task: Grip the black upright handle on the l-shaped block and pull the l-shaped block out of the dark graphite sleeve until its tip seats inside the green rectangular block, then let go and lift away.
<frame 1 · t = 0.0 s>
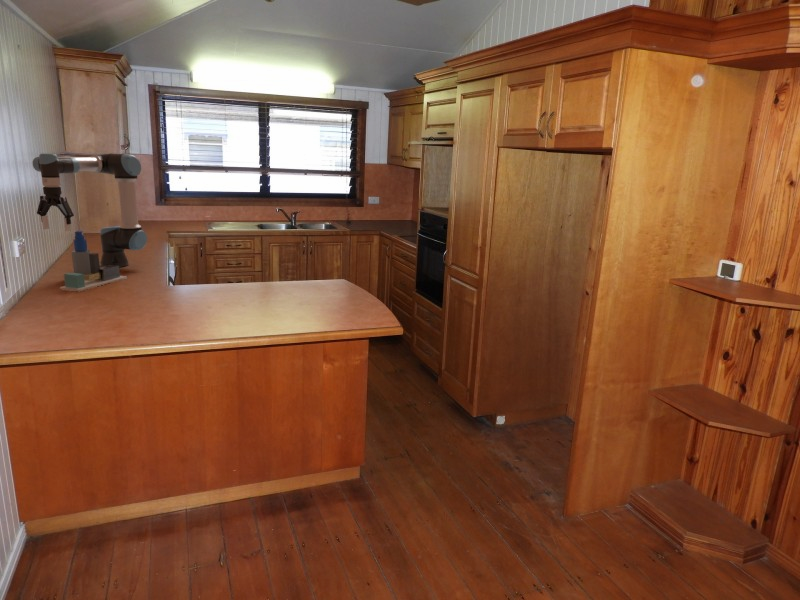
hand: (57, 230, 279), 28 cm above the countertop, tool pointing down, fingers open, 13 cm apart
l-shaped block: (99, 264, 292), point 9 cm above the countertop, slide at 0.0 cm
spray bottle: (84, 277, 303), on the countertop
base board: (95, 283, 290), on the countertop
sleeve: (107, 280, 298), resting on base board
green rectangular block: (75, 289, 279), resting on base board
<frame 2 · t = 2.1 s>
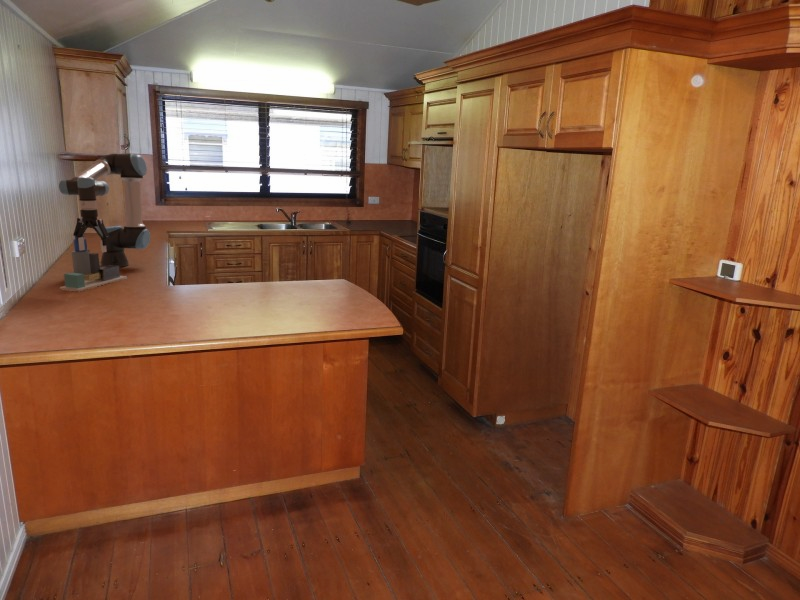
hand: (93, 251, 287), 17 cm above the countertop, tool pointing down, fingers open, 13 cm apart
nothing on the countertop moved.
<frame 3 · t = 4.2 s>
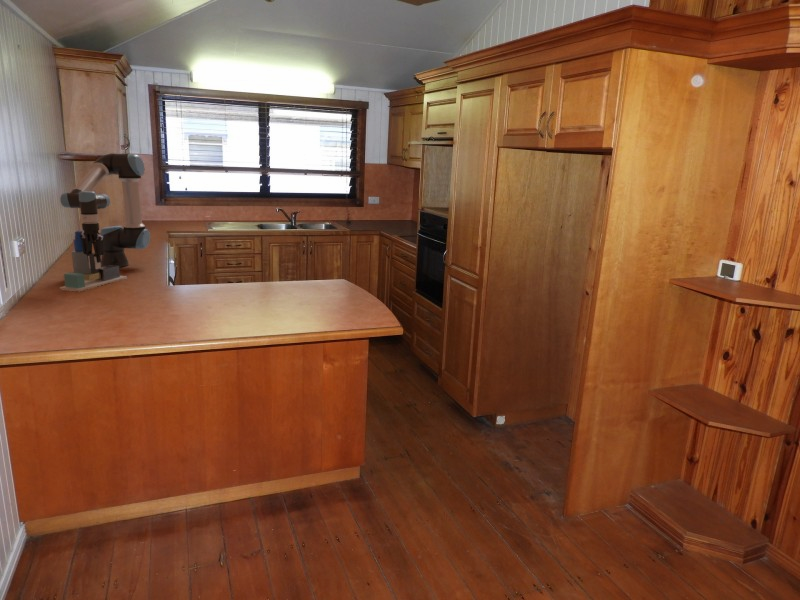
hand: (95, 268, 289), 8 cm above the countertop, tool pointing down, fingers closed on l-shaped block, 3 cm apart
l-shaped block: (99, 264, 292), point 9 cm above the countertop, slide at 0.0 cm, touching gripper
everything else where it was.
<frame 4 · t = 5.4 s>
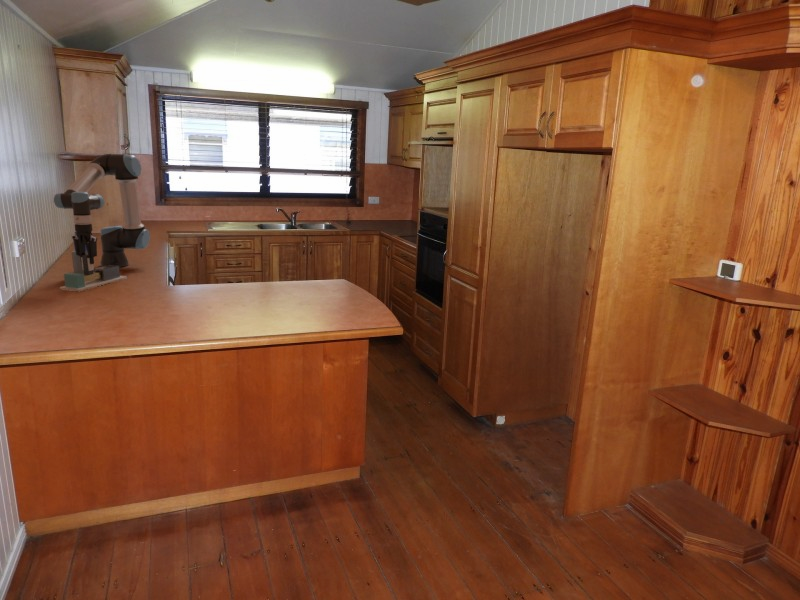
hand: (88, 269, 285), 8 cm above the countertop, tool pointing down, fingers closed on l-shaped block, 3 cm apart
l-shaped block: (93, 266, 288), point 9 cm above the countertop, slide at 4.4 cm, touching gripper
everything else where it was.
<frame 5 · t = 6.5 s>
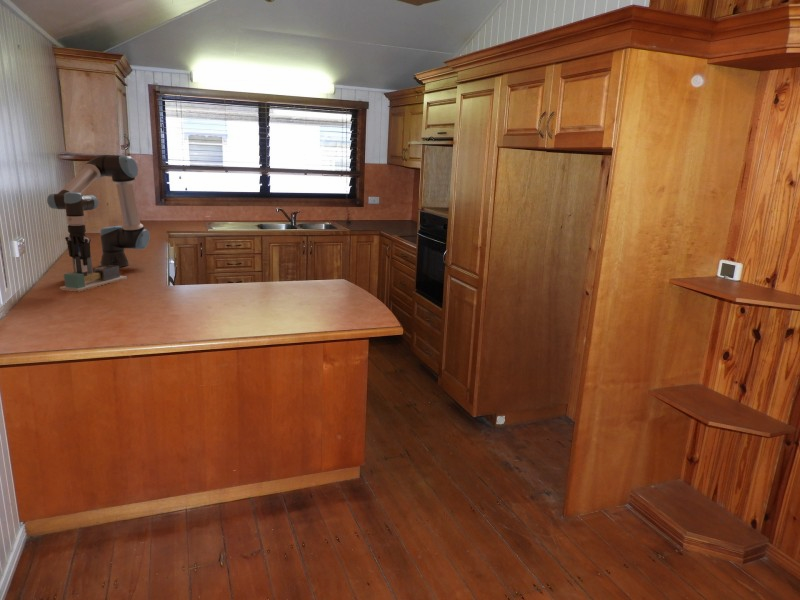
hand: (81, 271, 281), 8 cm above the countertop, tool pointing down, fingers closed on l-shaped block, 3 cm apart
l-shaped block: (86, 267, 284), point 9 cm above the countertop, slide at 8.6 cm, touching gripper
everything else where it was.
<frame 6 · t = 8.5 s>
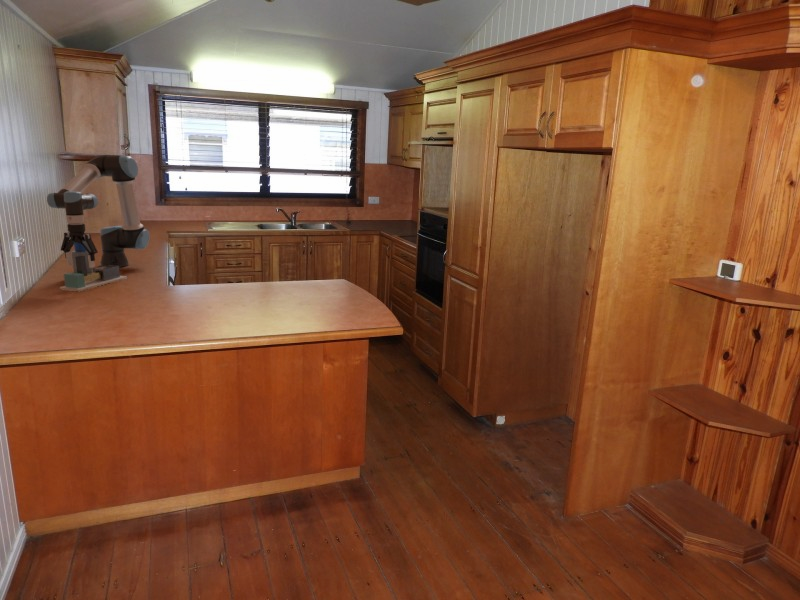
hand: (80, 266, 280), 11 cm above the countertop, tool pointing down, fingers open, 13 cm apart
l-shaped block: (86, 267, 284), point 9 cm above the countertop, slide at 8.5 cm
everything else where it was.
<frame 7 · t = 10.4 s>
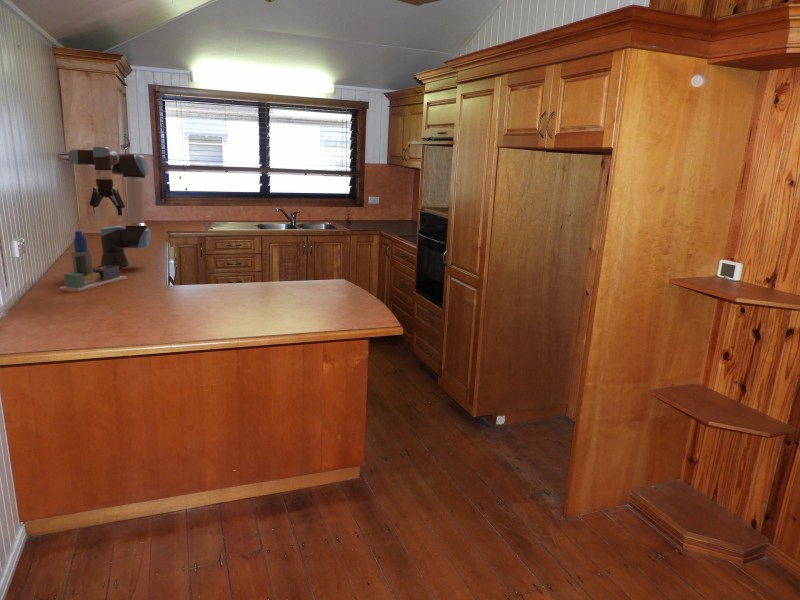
hand: (108, 220, 288), 32 cm above the countertop, tool pointing down, fingers open, 13 cm apart
nothing on the countertop moved.
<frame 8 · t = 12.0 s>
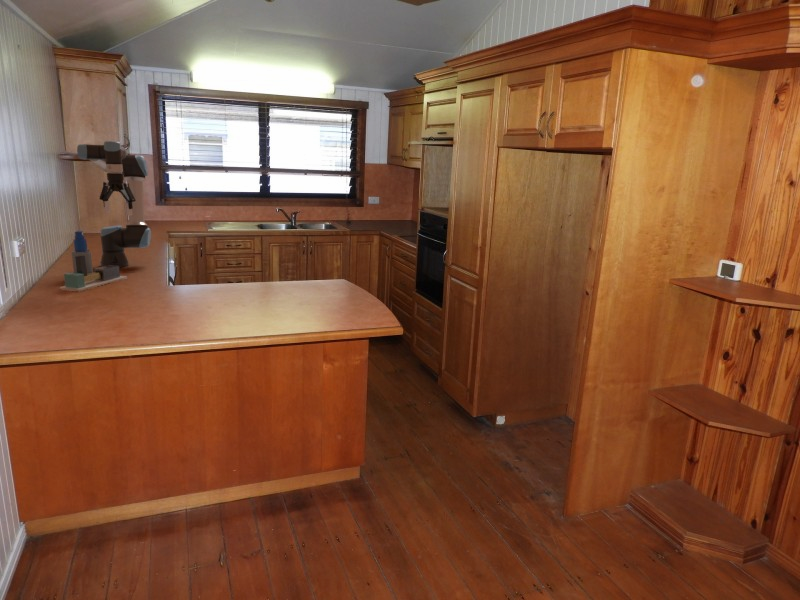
hand: (118, 214, 292), 35 cm above the countertop, tool pointing down, fingers open, 13 cm apart
nothing on the countertop moved.
at the end: l-shaped block slide at 8.5 cm; the gripper is holding nothing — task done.
